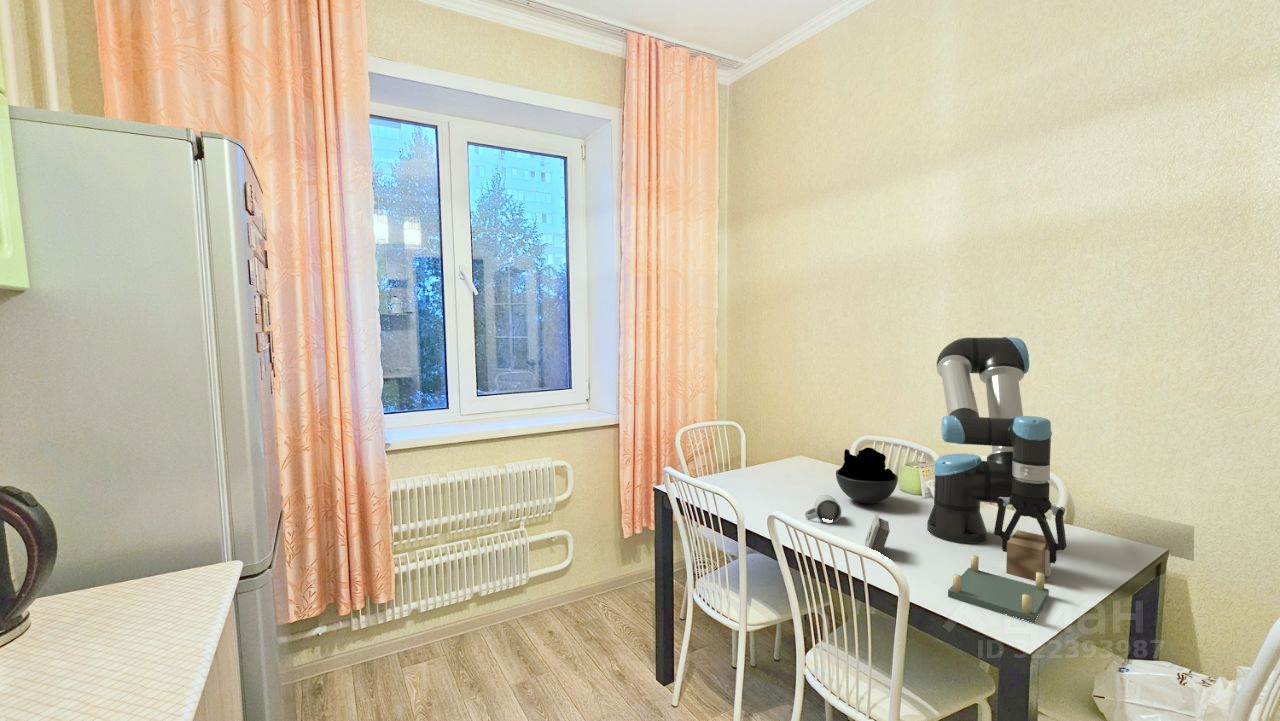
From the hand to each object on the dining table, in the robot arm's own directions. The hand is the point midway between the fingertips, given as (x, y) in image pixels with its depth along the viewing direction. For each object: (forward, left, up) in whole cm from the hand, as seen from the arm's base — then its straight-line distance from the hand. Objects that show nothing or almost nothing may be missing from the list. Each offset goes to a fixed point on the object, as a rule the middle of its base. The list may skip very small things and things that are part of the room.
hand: (1028, 569), depth 133 cm
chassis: (-2, -20, 0) cm, 20 cm away
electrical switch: (-32, -14, -1) cm, 35 cm away
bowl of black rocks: (-51, +24, 0) cm, 56 cm away
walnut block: (0, 0, 0) cm, 0 cm away
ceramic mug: (-54, -1, -1) cm, 54 cm away
